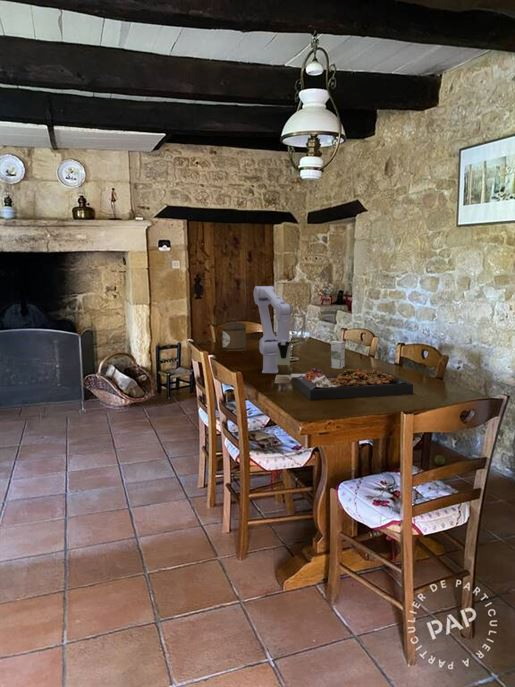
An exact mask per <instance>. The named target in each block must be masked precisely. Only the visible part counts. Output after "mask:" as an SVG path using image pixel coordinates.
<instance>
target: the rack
mask: <svg viewBox="0 0 515 687" xmlns="http://www.w3.org/2000/svg"><path fill="white" fill-rule="evenodd" d="M276 376H288V378H290V381H292V378H291V374H276ZM276 376H275V379H274V381H275V380H277V379H276Z"/></svg>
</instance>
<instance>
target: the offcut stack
mask: <svg viewBox="0 0 515 687" xmlns="http://www.w3.org/2000/svg"><path fill="white" fill-rule="evenodd" d="M275 378H276V379H277V380H275V379H274V384H291V380H290V378H288V376H275Z"/></svg>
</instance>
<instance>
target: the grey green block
mask: <svg viewBox="0 0 515 687" xmlns="http://www.w3.org/2000/svg"><path fill="white" fill-rule="evenodd" d="M290 365H291V348H290V347H288V349H287V354H286V358H281V355H280V350H279V348H277V366H290Z"/></svg>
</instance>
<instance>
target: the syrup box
mask: <svg viewBox="0 0 515 687" xmlns="http://www.w3.org/2000/svg"><path fill="white" fill-rule="evenodd" d="M345 346H346V342H345V340H335V339H334V340H332V341H331V342H330V368H331V369H337V370H338V369H339V370H341V369H344V368H345V353H346V349H345V348H346V347H345ZM343 367H344V368H343Z"/></svg>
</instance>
